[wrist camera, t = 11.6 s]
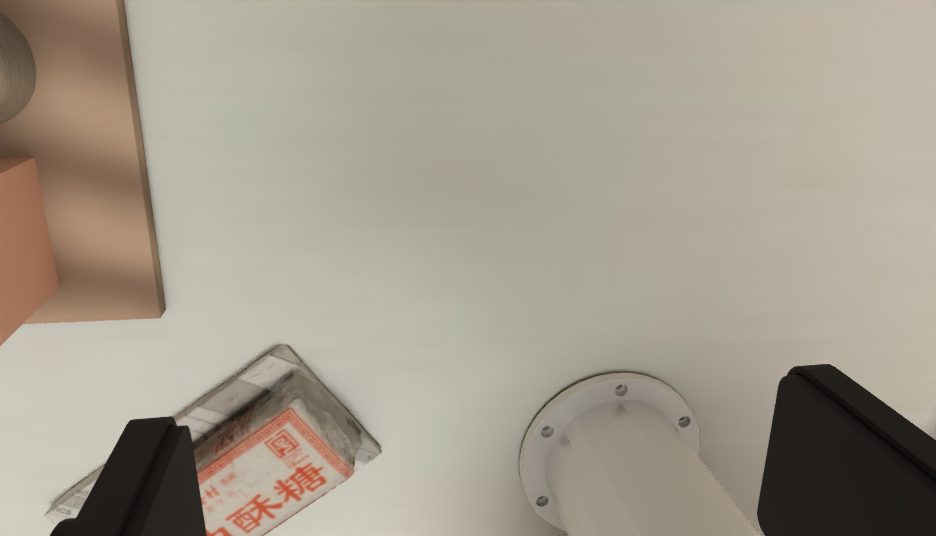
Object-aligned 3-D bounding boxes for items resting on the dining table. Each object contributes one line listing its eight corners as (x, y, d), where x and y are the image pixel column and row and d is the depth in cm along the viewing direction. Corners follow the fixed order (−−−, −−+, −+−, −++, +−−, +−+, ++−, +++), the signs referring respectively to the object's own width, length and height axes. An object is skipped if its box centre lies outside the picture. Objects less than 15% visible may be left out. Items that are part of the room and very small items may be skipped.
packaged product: (276, 373, 38) (386, 489, 41) (283, 334, 42) (382, 441, 46) (17, 555, 39) (147, 651, 43) (50, 498, 43) (165, 590, 47)
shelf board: (165, 309, 40) (149, 337, 37) (-70, 319, 38) (-111, 349, 35) (121, -12, 34) (97, -14, 31) (-160, -20, 32) (-219, -23, 29)
